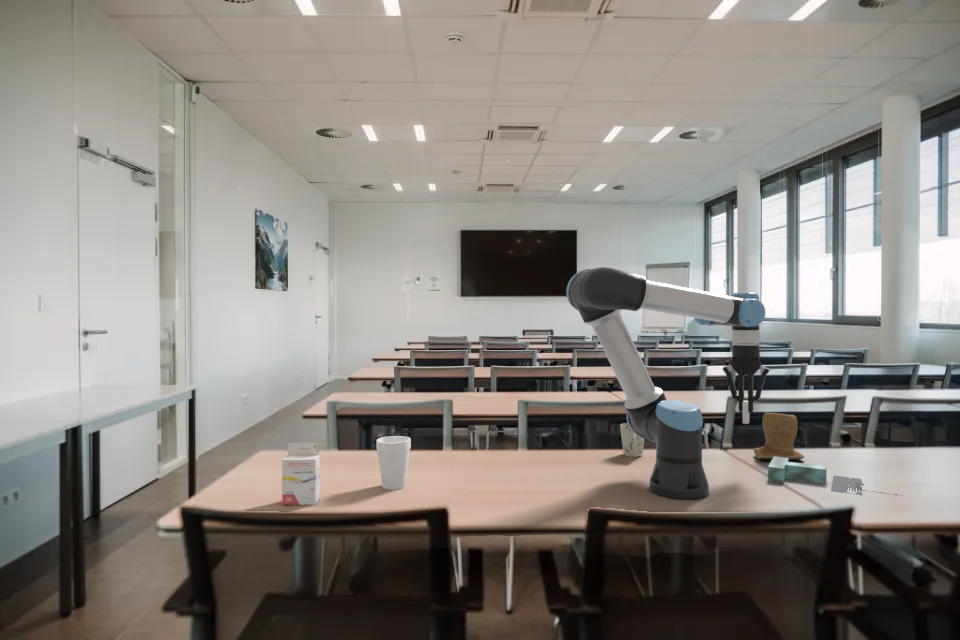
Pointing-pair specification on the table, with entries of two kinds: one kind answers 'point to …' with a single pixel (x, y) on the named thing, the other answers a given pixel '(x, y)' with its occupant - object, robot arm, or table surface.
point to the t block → (795, 471)
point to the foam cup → (393, 460)
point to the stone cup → (778, 437)
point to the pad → (846, 484)
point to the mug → (631, 441)
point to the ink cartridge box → (301, 475)
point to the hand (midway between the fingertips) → (746, 422)
